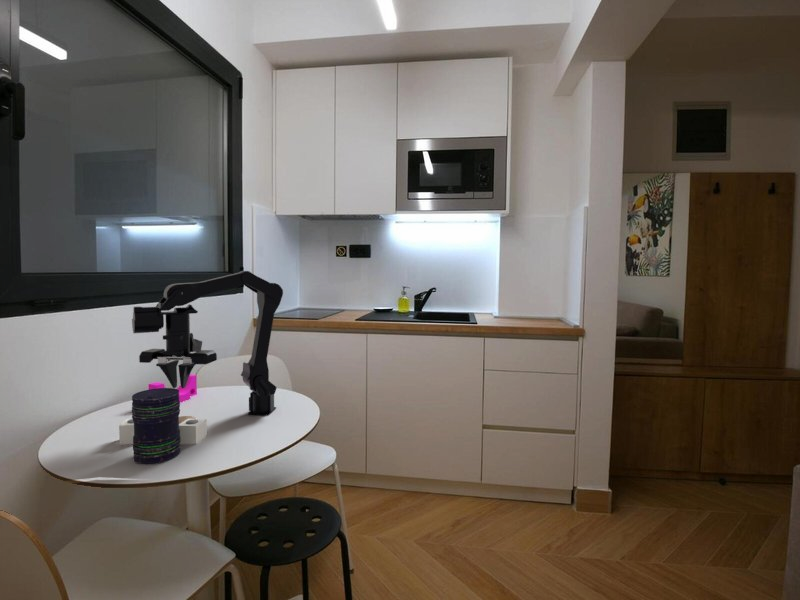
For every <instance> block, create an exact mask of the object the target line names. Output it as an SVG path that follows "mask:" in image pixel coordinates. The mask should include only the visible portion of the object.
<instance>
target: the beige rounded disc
mask: <svg viewBox="0 0 800 600" xmlns="http://www.w3.org/2000/svg"><path fill="white" fill-rule="evenodd" d="M187 419H197V418H196V417H195V416H190V415H185V416H181V415H180V416H179V424H180V423H182V422H184V421H185V420H187Z"/></svg>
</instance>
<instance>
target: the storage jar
mask: <svg viewBox="0 0 800 600" xmlns="http://www.w3.org/2000/svg"><path fill="white" fill-rule="evenodd" d="M131 401H132V402H131V405H132V406H131V413H132V416H131V419H133V421H134V436H133V444H132V452H133V462H134V463H135V464H136V465H142V466H144V465H145V466H150V465H158V464H163V463H166V462H170V461H171V460H173V459H175V458H177V457H178V456H179V455H180V454H181V448H180V447H181V444H180V442H181V436H180V429H179V417H180V416H179V415H180V414H181V413H180V412H181V410H180V408H181V407H180V406H181V403H180V401H179V390H178V389H177V388H173V387H170V388H169V387H165V388H157V389H150V390H149V389H146V390H142V391H138V392H135V393H134V394H132V396H131Z"/></svg>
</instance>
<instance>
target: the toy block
mask: <svg viewBox="0 0 800 600" xmlns="http://www.w3.org/2000/svg"><path fill="white" fill-rule="evenodd" d="M197 383H198V382H197V374H191V373H190V375H189V378H188V381H187V384H186V386H185V388H182V387H181V384H180V385H179V386H177V387H176V389H178V390H179V401H180V402H181V403H183V401H184V402H187V401H189V399H190V400H191V397H194V396H197V395H198V384H197ZM157 388H166V386H165V383H163V382H158V381H155V382H151V383H148V390H150V389H157ZM190 396H191V397H190ZM186 400H187V401H186Z"/></svg>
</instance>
